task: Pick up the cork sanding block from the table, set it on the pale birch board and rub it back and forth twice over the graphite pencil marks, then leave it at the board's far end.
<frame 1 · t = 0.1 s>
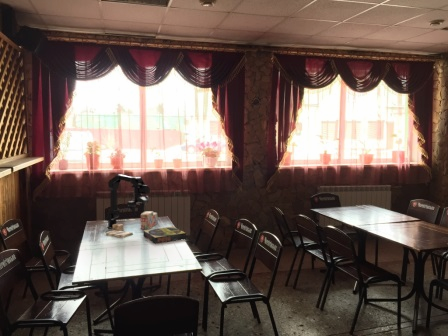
hand: (138, 213, 316), 15 cm above the table, fingers open, 9 cm apart
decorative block: (164, 238, 298), on the table
sanding block: (118, 230, 320), on the table
stack of blocks: (149, 226, 335), on the table
board: (119, 234, 307), on the table
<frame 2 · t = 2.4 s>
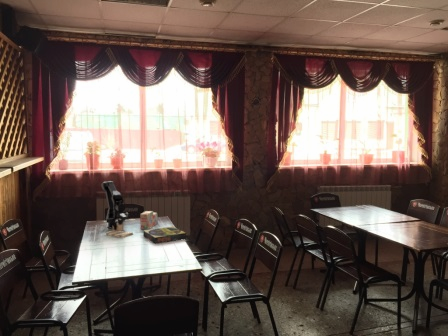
hand: (118, 229, 320), 1 cm above the table, fingers closed on sanding block, 4 cm apart
sanding block: (118, 230, 320), on the table, touching gripper
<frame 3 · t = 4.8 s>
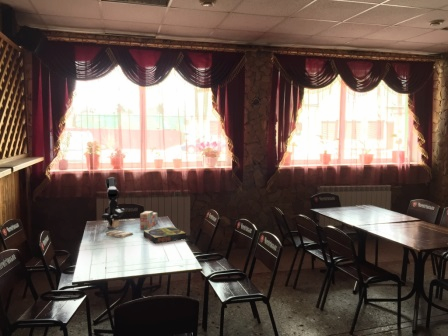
hand: (113, 225, 309), 7 cm above the table, fingers closed on sanding block, 4 cm apart
sanding block: (113, 226, 310), point 6 cm above the table, touching gripper
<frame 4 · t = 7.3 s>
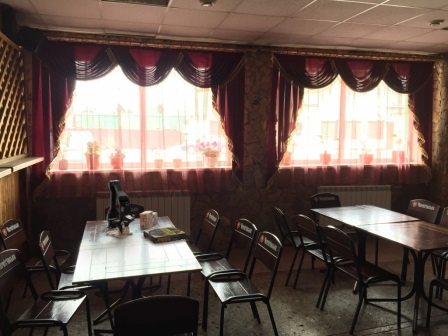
hand: (123, 232, 305), 3 cm above the table, fingers closed on sanding block, 4 cm apart
sanding block: (123, 233, 305), point 2 cm above the table, touching gripper
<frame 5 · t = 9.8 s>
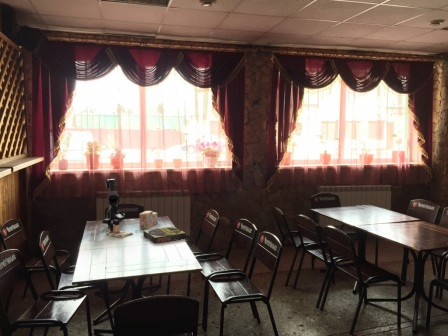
hand: (114, 230, 309), 3 cm above the table, fingers closed on sanding block, 4 cm apart
sanding block: (114, 231, 309), point 2 cm above the table, touching gripper
when the fingers open (3 cm above the table, at t = 11.9 s): sanding block stays where it is, resting on board.
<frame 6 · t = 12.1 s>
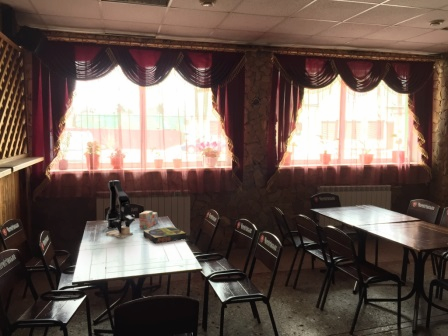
hand: (124, 232, 305), 3 cm above the table, fingers open, 7 cm apart
sanding block: (124, 233, 304), point 2 cm above the table, touching board
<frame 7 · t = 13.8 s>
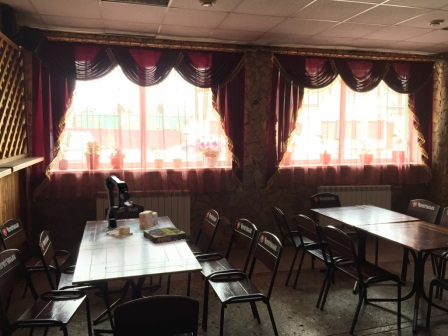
hand: (122, 218, 313), 11 cm above the table, fingers open, 9 cm apart
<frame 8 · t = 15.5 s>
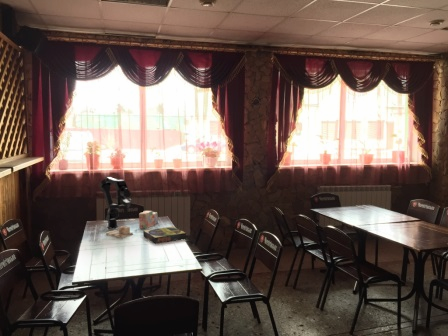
hand: (121, 215, 320), 12 cm above the table, fingers open, 9 cm apart
at the end: sanding block 0.3 cm from the target spot on the board, point 1.5 cm above the board's base; sanding block tilted 0°; the gripper is holding nothing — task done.
